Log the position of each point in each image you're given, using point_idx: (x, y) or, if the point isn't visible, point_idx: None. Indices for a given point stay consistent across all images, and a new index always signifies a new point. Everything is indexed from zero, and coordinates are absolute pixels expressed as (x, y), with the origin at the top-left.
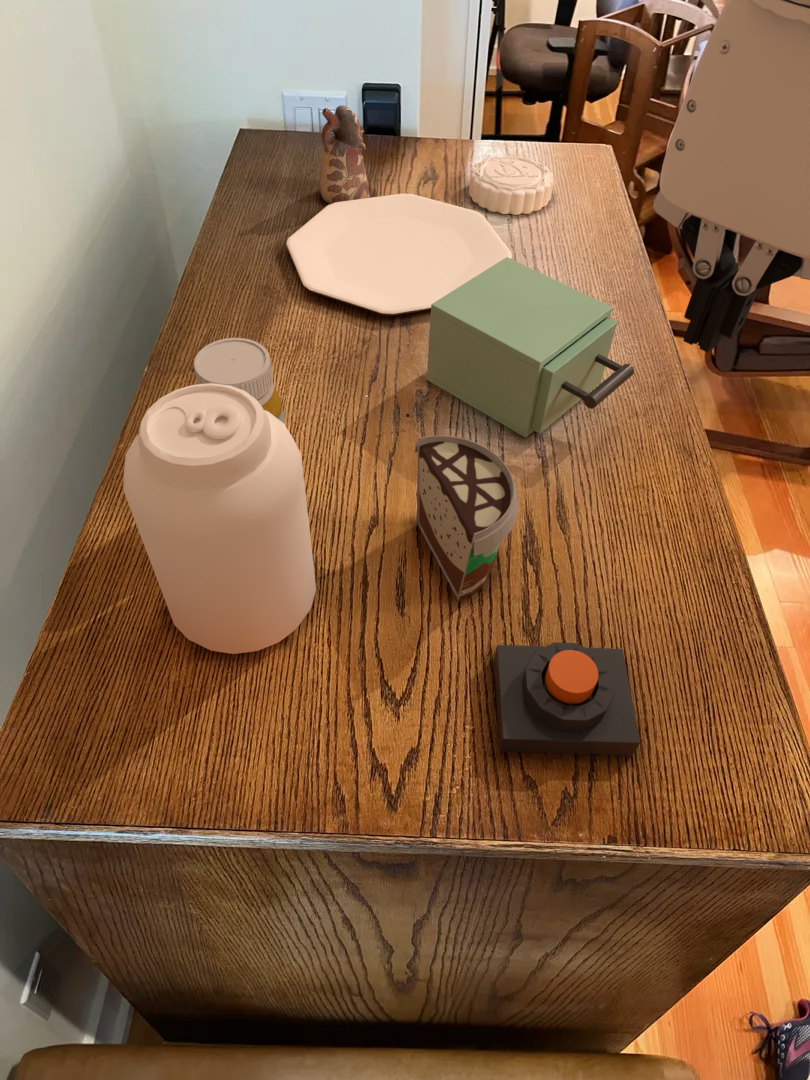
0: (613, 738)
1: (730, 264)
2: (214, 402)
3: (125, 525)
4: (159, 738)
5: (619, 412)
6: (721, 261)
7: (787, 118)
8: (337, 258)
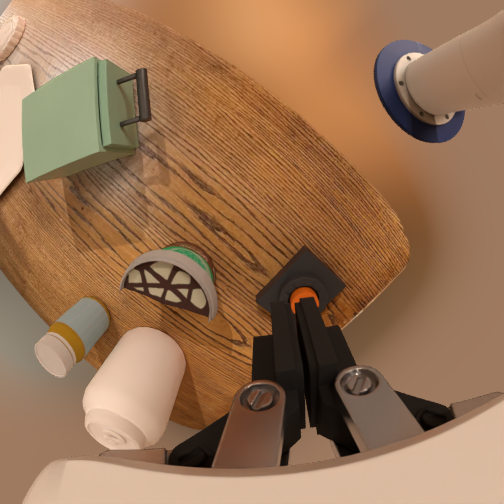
0: (335, 294)
1: (299, 419)
2: (98, 427)
3: (98, 361)
4: (200, 402)
5: (158, 78)
6: (289, 444)
7: None
8: None
